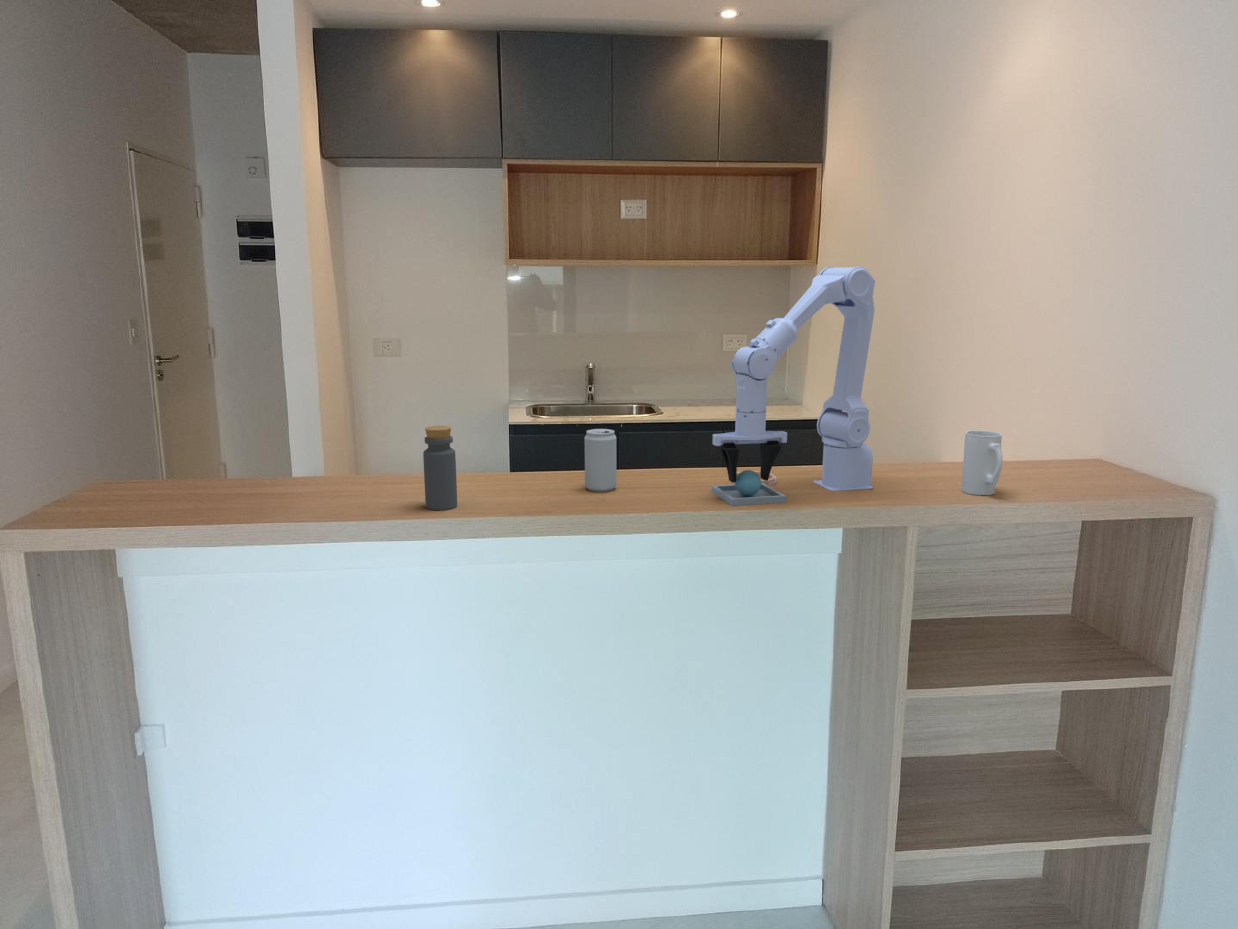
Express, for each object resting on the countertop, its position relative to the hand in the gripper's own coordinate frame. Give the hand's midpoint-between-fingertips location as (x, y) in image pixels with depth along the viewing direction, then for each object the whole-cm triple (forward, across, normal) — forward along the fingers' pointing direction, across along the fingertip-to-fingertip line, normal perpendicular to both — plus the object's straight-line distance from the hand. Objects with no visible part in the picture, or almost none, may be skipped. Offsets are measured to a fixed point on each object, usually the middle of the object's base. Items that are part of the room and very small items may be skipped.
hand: (748, 480), depth 167 cm
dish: (+4, -6, -12) cm, 13 cm away
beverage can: (+4, +26, -14) cm, 30 cm away
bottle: (+4, +58, -8) cm, 59 cm away
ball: (+3, 0, 0) cm, 3 cm away
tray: (+4, 0, 0) cm, 4 cm away
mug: (+4, -47, +8) cm, 48 cm away
